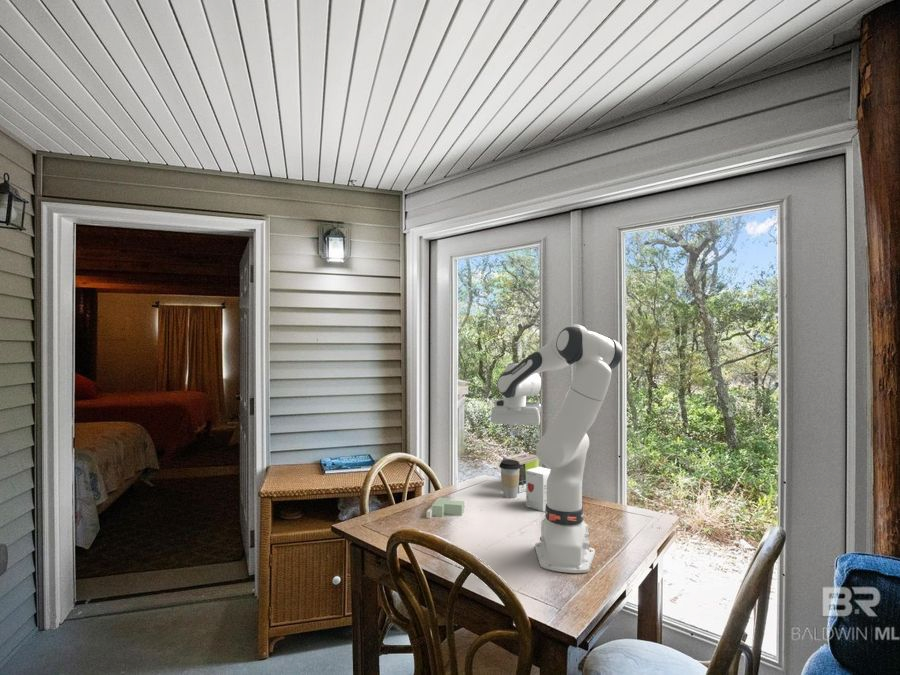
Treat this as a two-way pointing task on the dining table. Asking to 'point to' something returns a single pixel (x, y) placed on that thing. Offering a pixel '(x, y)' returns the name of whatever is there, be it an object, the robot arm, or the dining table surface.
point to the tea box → (524, 467)
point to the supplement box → (537, 487)
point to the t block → (447, 507)
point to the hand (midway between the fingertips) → (515, 435)
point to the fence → (429, 511)
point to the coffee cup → (510, 477)
